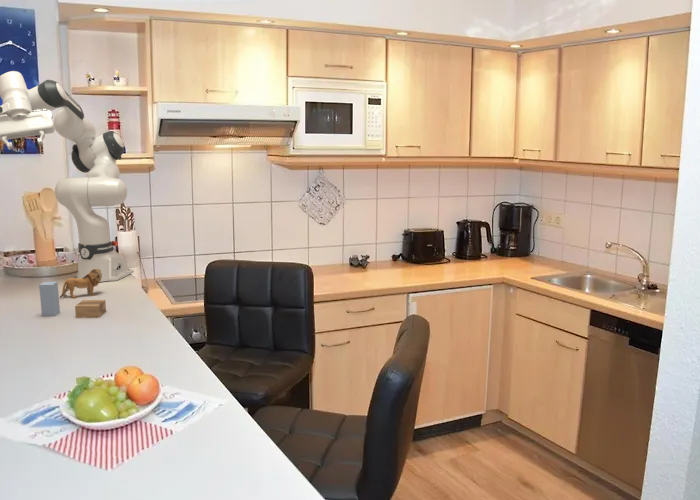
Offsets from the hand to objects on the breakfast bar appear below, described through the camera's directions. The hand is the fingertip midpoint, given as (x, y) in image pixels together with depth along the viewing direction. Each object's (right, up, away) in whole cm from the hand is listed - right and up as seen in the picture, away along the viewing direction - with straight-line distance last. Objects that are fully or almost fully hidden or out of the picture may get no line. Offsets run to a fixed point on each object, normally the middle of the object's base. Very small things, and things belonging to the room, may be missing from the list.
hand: (25, 146), depth 221 cm
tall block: (+15, -55, -14) cm, 59 cm away
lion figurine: (+16, -51, +8) cm, 54 cm away
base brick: (+28, -56, -14) cm, 64 cm away
